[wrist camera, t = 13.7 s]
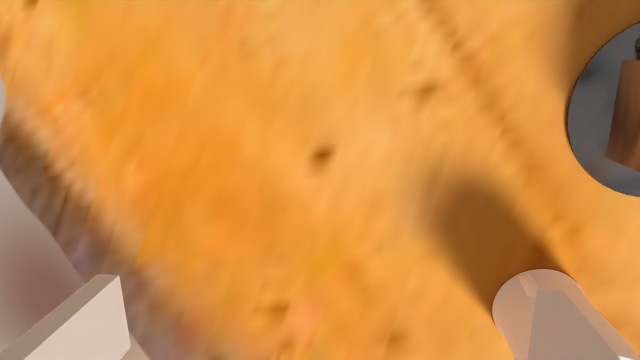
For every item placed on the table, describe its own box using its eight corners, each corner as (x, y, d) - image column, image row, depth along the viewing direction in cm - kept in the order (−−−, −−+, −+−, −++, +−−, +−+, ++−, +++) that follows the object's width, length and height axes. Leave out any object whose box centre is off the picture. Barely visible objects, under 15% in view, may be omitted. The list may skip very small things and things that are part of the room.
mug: (466, 258, 41) (504, 337, 30) (556, 224, 39) (635, 295, 28) (509, 356, 43) (560, 465, 32) (597, 329, 42) (684, 433, 30)
